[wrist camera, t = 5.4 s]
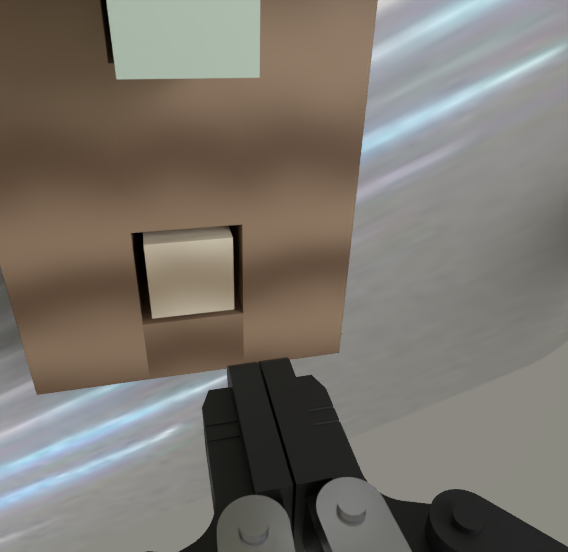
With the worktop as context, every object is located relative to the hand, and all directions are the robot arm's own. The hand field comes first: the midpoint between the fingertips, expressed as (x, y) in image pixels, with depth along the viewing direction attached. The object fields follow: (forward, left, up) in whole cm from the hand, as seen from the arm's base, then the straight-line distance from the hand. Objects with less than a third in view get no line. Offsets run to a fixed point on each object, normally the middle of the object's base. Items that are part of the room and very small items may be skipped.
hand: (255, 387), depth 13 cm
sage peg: (-8, -1, -14) cm, 16 cm away
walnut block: (-2, -1, -20) cm, 20 cm away
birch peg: (+4, -1, -20) cm, 20 cm away
